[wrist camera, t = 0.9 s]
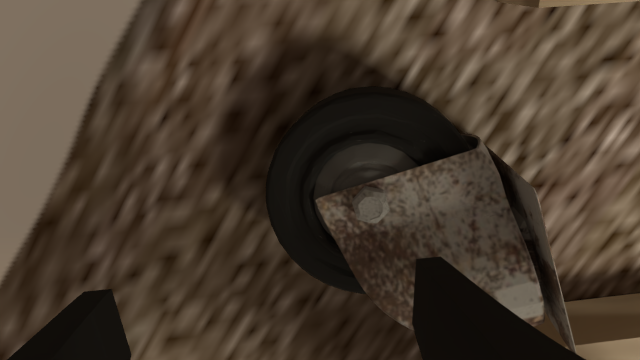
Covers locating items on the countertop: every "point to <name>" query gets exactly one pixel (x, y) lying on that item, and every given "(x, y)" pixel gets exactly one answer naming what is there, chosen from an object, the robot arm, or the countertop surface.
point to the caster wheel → (408, 206)
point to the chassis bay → (599, 313)
